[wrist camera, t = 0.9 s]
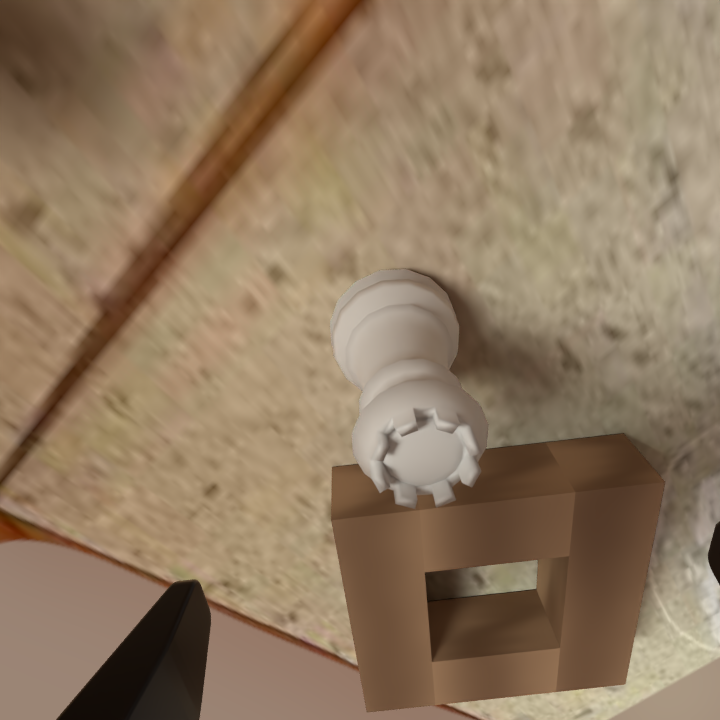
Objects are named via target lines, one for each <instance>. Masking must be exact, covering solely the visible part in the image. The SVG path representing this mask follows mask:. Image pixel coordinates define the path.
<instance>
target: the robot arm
mask: <svg viewBox="0 0 720 720" xmlns="http://www.w3.org/2000/svg"><path fill="white" fill-rule="evenodd" d="M708 560H709V565H710V567H711V570H712V572H713V573H714V575H715V577H716V579H717V581H718V583H719V585H720V521H719V522H718V523H717V524H716V526H715V530H714V533H713V537H712V541H711V545H710V548H709V552H708ZM210 626H211V613H210V609H209V606H208V603H207V601H206V598H205V595H204V592H203V590H202V587H201V585H200V583H199V582H198V581H197V580H185V581H177V582H175V583H173V584H172V585H171V586H170V587H169V588H168V589H167V590H166V591H165V593H164V594H163V595H162V596H161V597H160V598H159V600H158V601H157V602H156V603H155V604H154V605H153V607H152V608H151V609H150V610H149V611H148V613H147V614H146V615H145V616H144V617H143V618H142V619H141V621H140V622H139V623H138V624H137V625H136V627H135V628H134V629H133V630H132V631H131V633H130V634H129V635H128V636H127V637H126V638H125V639H124V641H123V642H122V643H121V644H120V645H119V647H118V648H117V649H116V650H115V651H114V652H113V654H112V655H111V656H110V657H109V658H108V659H107V661H106V662H105V663H104V664H103V665H102V666H101V668H100V669H99V670H98V671H97V672H96V673H95V675H94V676H93V677H92V678H91V679H90V681H89V682H88V683H87V684H86V685H85V686H84V688H83V689H82V690H81V691H80V692H79V693H78V695H77V696H76V697H75V698H74V699H73V700H72V702H71V703H70V704H69V705H68V706H67V708H66V709H65V710H64V711H63V712H62V713H61V714H60V716H59V717H58V718H57V719H56V720H199V717H200V711H201V703H202V695H203V685H204V677H205V669H206V661H207V652H208V644H209V635H210Z"/></svg>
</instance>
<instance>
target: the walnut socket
mask: <svg viewBox="0 0 720 720" xmlns="http://www.w3.org/2000/svg"><path fill="white" fill-rule="evenodd" d="M478 464H479V466H480V469H481V473H480V475H479V476H478V478H477V480H476V482H475V483H474V485H473V487H470V486H468V485H465V484H463V483H462V482H461V480H460V481H459V482H458V483H456V484H455V485H454V486H453V487H452V488H453V492H454V495H455V498H456V501H453V502H450V503H448V504H445V505H442V506H440V507H437V508H436V505H435V501H434V497H433V494H430V495H417V499H418V500H417V504H416V507H415V509H413V508H409V507H405V506H401V505H397V504H395V498H394V491H393V490H390V489H386V490H384V491H383V492H381V493H379V491H378V489H377V487H376V486H375V484H374V482H373V481H372V479H371V478H370V477H368V476H367V475H365V474H364V472H363V471H362V469H361V467H360V466H359V464H356V465H348V466H339V467H332V507H331V521H332V527H333V532H334V537H335V543H336V548H337V554H338V559H339V564H340V570H341V575H342V581H343V586H344V591H345V597H346V602H347V608H348V613H349V618H350V624H351V629H352V635H353V640H354V645H355V651H356V656H357V662H358V667H359V672H360V678H361V683H362V688H363V694H364V699H365V705H366V710H367V712H376V711H384V710H394V709H403V708H412V707H421V706H431V705H440V704H449V703H459V702H468V701H477V700H486V699H495V698H505V697H514V696H523V695H532V694H541V693H551V692H560V691H569V690H578V689H587V688H597V687H606V686H615V685H624V684H625V683H626V678H627V673H628V668H629V663H630V658H631V652H632V647H633V642H634V637H635V632H636V627H637V622H638V617H639V612H640V607H641V602H642V597H643V592H644V587H645V582H646V577H647V572H648V567H649V562H650V556H651V551H652V546H653V541H654V536H655V531H656V526H657V521H658V516H659V511H660V506H661V501H662V496H663V491H664V486H665V481H664V480H663V479H662V478H661V476H660V475H659V474H658V473H657V472H656V471H655V469H654V468H653V467H652V466H651V465H650V464H649V462H648V461H647V460H646V459H645V458H644V457H643V455H642V454H641V453H640V452H639V451H638V450H637V448H636V447H635V446H634V445H633V444H632V443H631V441H630V440H629V439H628V438H627V437H626V436H625V434H624V433H623V434H614V435H606V436H597V437H588V438H580V439H571V440H563V441H554V442H545V443H537V444H528V445H520V446H511V447H502V448H494V449H485V451H484V452H483V454H482V456H481V458H480V459H479V461H478ZM530 560H538V572H537V589H536V590H529V591H520V592H511V593H502V594H493V595H484V596H475V597H466V598H457V599H448V600H439V601H430V602H427V595H426V582H425V572H433V571H442V570H451V569H459V568H468V567H477V566H486V565H495V564H504V563H513V562H522V561H530Z"/></svg>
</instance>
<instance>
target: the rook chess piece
mask: <svg viewBox="0 0 720 720" xmlns="http://www.w3.org/2000/svg"><path fill="white" fill-rule="evenodd" d="M330 329H331V342H332V347H333V356H334V357H335V359H336V361H337V363H338V365H339V366H340V368H341V370H342V372H343V374H344V375H345V377H346V378H347V379H348V380H349V381H350V382H352V383H353V384H354V385H355V386H357V387H358V388H359V389H361V390H362V391H363V392H362V394H361V397H360V399H359V412H360V415H359V417H358V419H357V422H356V424H355V426H354V429H353V431H352V444H353V455H354V457H355V459H356V461H357V462H358V464H359V466H360V467H361V469H362V471H363V472H364V474H365V475H367V476H368V477H370V478H371V479H372V481H373V482H374V484H375V486H376V487H377V489H378V491H379V493H381V492H383V491H384V490H386V489H390V490H393V491H394V498H395V504H397V505H401V506H405V507H409V508H413V509H415V507H416V504H417V500H418V499H417V495H430V494H433V497H434V501H435V505H436V508H437V507H440V506H442V505H445V504H448V503H450V502H453V501H456V498H455V495H454V492H453V488H452V487H453V486H454V485H455V484H456V483H458V482H459V481H460V480H461V482H462V483H463V484H465V485H468V486H470V487H473V485H474V483H475V482H476V480H477V478H478V476H479V475H480V473H481V469H480V466H479V464H478V461H479V459H480V458H481V456H482V454H483V452H484V451H485V449H486V447H487V437H488V422H487V420H486V418H485V415H484V413H483V411H482V408H481V406H480V404H479V403H478V402H477V401H476V400H475V399H473V398H472V397H471V396H470V395H469V394H468V393H466V392H465V391H464V390H463V389H462V387H461V384H460V382H459V380H458V378H457V377H456V376H455V375H454V374H453V373H452V372H450V371H449V370H450V367H451V365H452V363H453V361H454V359H455V357H456V355H457V353H458V343H459V324H458V321H457V319H456V314H455V312H454V309H453V307H452V304H451V302H450V299H449V297H448V295H447V293H446V292H445V291H444V290H443V289H441V288H440V287H439V286H438V285H437V284H436V283H435V282H434V281H433V280H432V279H431V278H430V277H427V276H424V275H421V274H418V273H416V272H413V271H410V270H407V269H395V270H379V271H377V272H375V273H372V274H370V275H368V276H366V277H364V278H362V279H359V280H357V281H355V282H354V283H353V285H352V286H351V287H350V288H349V289H348V290H347V291H346V292H345V293H344V294H343V295H342V296H341V297H340V298H339V299H338V302H337V304H336V307H335V310H334V313H333V315H332V318H331V321H330Z"/></svg>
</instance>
